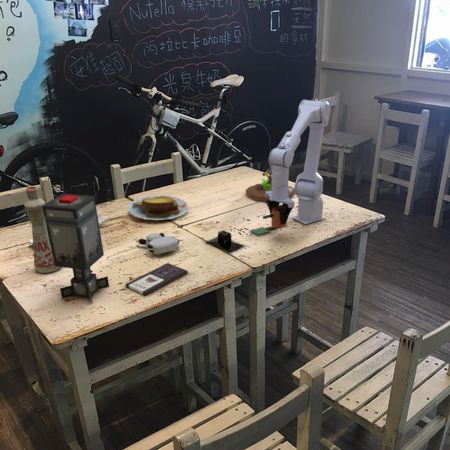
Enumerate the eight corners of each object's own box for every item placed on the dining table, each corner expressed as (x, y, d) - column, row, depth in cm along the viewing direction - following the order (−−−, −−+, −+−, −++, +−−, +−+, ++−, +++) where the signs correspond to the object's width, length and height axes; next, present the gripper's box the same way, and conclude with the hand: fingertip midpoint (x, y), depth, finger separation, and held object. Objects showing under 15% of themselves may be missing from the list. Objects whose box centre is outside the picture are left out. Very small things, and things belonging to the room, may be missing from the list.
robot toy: (134, 248, 183) (154, 260, 172) (132, 236, 181) (152, 247, 170) (164, 239, 189) (185, 250, 178) (163, 228, 187) (184, 238, 176)
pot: (280, 220, 186) (280, 203, 183) (288, 225, 182) (289, 207, 179) (258, 226, 182) (258, 208, 178) (267, 231, 178) (267, 213, 175)
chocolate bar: (187, 270, 163) (145, 292, 152) (187, 273, 164) (145, 295, 152) (167, 262, 168) (125, 283, 157) (167, 265, 169) (126, 286, 157)
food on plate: (178, 198, 225) (177, 184, 222) (197, 217, 205) (196, 202, 202) (122, 207, 217) (120, 192, 214) (135, 227, 198) (133, 211, 194)
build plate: (244, 246, 181) (244, 234, 178) (229, 253, 176) (229, 241, 174) (219, 236, 188) (219, 225, 186) (205, 243, 184) (204, 231, 181)
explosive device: (80, 282, 160) (62, 190, 145) (109, 286, 158) (94, 193, 142) (62, 298, 152) (40, 202, 137) (92, 303, 149) (74, 205, 134)
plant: (238, 194, 227) (237, 170, 222) (268, 184, 239) (268, 160, 233) (271, 205, 215) (271, 179, 209) (301, 194, 226) (302, 169, 220)
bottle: (68, 263, 172) (51, 182, 158) (54, 275, 165) (35, 191, 151) (44, 261, 174) (26, 181, 160) (30, 273, 167) (9, 190, 152)
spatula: (281, 223, 198) (281, 221, 198) (288, 227, 194) (288, 225, 194) (250, 231, 192) (250, 229, 191) (257, 236, 188) (257, 234, 188)
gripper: (258, 180, 179) (258, 217, 186) (283, 191, 168) (281, 230, 175) (274, 177, 182) (273, 213, 189) (300, 187, 171) (298, 225, 178)
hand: (278, 221), depth 182 cm, fingers closed on pot, 5 cm apart
